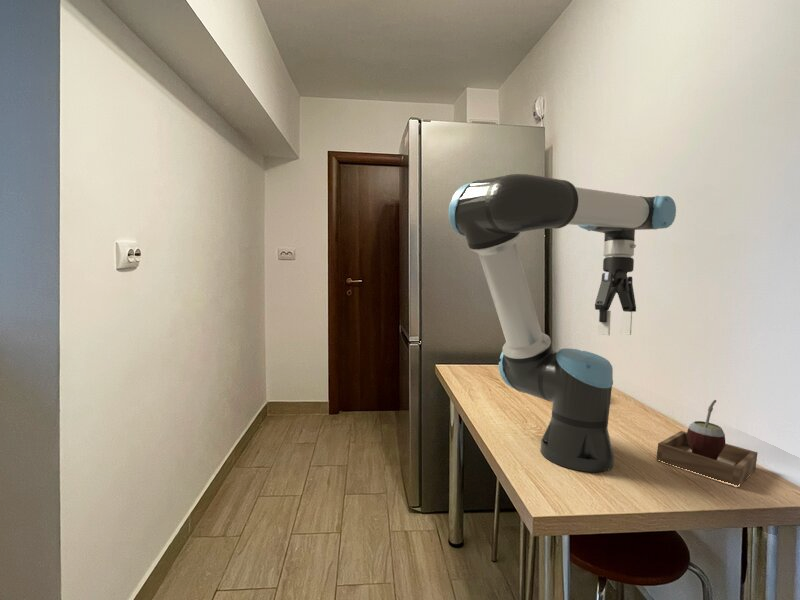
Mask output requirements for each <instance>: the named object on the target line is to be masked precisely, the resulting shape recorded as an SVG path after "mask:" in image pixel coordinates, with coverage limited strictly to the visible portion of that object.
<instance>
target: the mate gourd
mask: <svg viewBox="0 0 800 600" xmlns="http://www.w3.org/2000/svg"><path fill="white" fill-rule="evenodd" d="M716 403H717V400H716V399H714V400H713V401H712V402H711V403H710V404H709V406H708V409H707V415H706V419H705V421H701V420H695V421H693V422H692V423H690V424H689V425H688V428H687V431H686V432H687V440H688V444H689V447H690V448H691V450H692V452H691V453H695V454H698V455H701V456H704V457H708V458H711V459H714V460H717V458H718V456H719V454H720V453H721V452H722V450H723V448H724V446H725V443H726V434H725V431H724V429H723V428H722V427H721V426H719V425H717V424H715V423H712V422H709V421H710V418H711V415H712V412H713V410H714V408H713V407H714V406H715V404H716Z"/></svg>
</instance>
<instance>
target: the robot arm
mask: <svg viewBox="0 0 800 600" xmlns="http://www.w3.org/2000/svg"><path fill="white" fill-rule="evenodd" d="M448 205H449V206H448V220H449V223H450V226H451V228H452V229H453V231H455V232H456V233H458V234H459V235H461V236H463V237H465V240H466V242H467V246H468V247H469V250H470V251H472V252H473V253H476V254H477V255H478V256H479V257H478V258H479V261H480V264H481V266H482V267H481V268H482V270H483V273H484V276H485V279H486V283H487V285H488V289H489V291H490V295H491V298H492V301H493V305H494V307H495V310H496V314H497V317H498V319H499V322H500V323H499V324H500V326H501V329H502V333H503V336H504V340H505V343H504V344H503V345H502V351H501V354H500V357H499V359H500V361H499V362H498V371H499V374H500V376H501V378H502V380H503V382H504V383H505V384H506V385H507V386H508V387H510V388H512V389H514V390H516V391H518V392H520V393H523V394H527V395H530V396H533V397H536V398H538V399H540V400H541V399H542V400H545V401H547V402H549V403H550V402H551V403H552V407H551V417H550V421H549V423H548V425H547V428H546V430H545V431H544V434H543V436H542V438H541V442H540V453H541V455H542V456H543V457H544V458H545V459H547V460H548V461H550V462H552V463H554V464H556V465H559V466H561V467H564V468H568V469H571V470H575V471H580V470H581V472H589V473H590V472H591V473H594V472H595V473H598V472H597V471H601V472H605V471H604V470H606V471H609V470H611V469H612V468H613V467H614V459H615V458H614V457H615V454H614V450H613V447H612V446H613V445H612V442H611V438H610V433H609V429H608V428H609V427H608V426H609V417H610V407H611V399H612V391H613V390H612V389H613V386H614V379H613V378H614V377H613V376H614V374H613V373H614V372H613V371H614V369H613V365H612V363H611V362H610V361H609V360H608V359H607V358H605V357H603V356H601V355H599V354H596V353H593V352H592V351H591V352H590V351H587V350H580V349H577V348H561V349H559V350H558V351H555V350H554V347H553V344H552V340H551V337H550V336H549V335H548V334H546V333H544V332H542V328H541V326H540V322H539V319H538V316H537V311H536V308H535V305H534V302H533V297H532V295H531V290H530V287H529V283H528V280H527V277H526V274H525V270H524V265H523V263H522V259H521V256H520V253H519V248H518V245H517V240H518V238H520V235H521V233H523V232H529V231H536V230H544V229H545V230H546V229H563V228H565V227H567V226H568V225H573V226H575V225H576V226H578V227H579V228H580V229H583V230H587V231H589V232H590V231H591V232H597V233H602V234H604V238H603V239H604V242H603V256H604V258H603V261H602V262H603V263H602V270H603V273H601V279H600V280H601V282H600V285H599V288H598V292H597V296H596V298H595V303H594V309H595V311H596V310H597V311H598V329H597V335H599V336H610V334H611V332H610V331H611V316H612V315H611V313H612V312H611V310H610V308H611V305H612V303H613V301H614V298H615V296H616V294H617V296H618V299H619V302H620V305H621V309H622V310H621V311H620V330H619V333H620V335H627V336H628V335H629V336H630V335H632V327H633V324H632V323H633V313H634V312H637V304H636V298H635V292H634V286H633V285H634V284H633V276H628V273H632V272H634V266H635V265H634V264H635V262H634V261H635V259H634V258H633V257H634V256H635V248H636V247H637V245H636V244H635V242H636V241H635V238H636V237H635V236H636V235H635V234H636V231H639V230H641V231H642V230H659V229H660V230H661V229H667V228H669V227H671V226H672V225H673V223H674V222H675V219H676V215H677V206H676V202H675V200H674V199H673V198H672V197H671V196H668V195H661V196H659V195H655V196H643V195H640V196H639V195H634V194H633V195H632V194H625V193H619V192H611V191H606V190H598V189H591V188H582V187H577V186H575V185H574V184H573V183H572V182H571V181H568V180H566V179H565V180H564V179H559V178H553V177H546V176H542V175H535V174H527V173H510V174H506V175H502V176H497V177H491V178H485V179H477V180H474V181H471V182H468V183H466V184H464V185H461V186H459V187H458V189H456V191H455V192H454V194H453V195H452V197H451V200H450V202H449V204H448ZM612 466H613V467H612ZM611 467H612V468H611ZM610 468H611V469H610ZM608 469H609V470H608Z"/></svg>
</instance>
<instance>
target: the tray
mask: <svg viewBox="0 0 800 600" xmlns="http://www.w3.org/2000/svg"><path fill="white" fill-rule="evenodd" d="M656 451H657V452H656V457H655V460H656V459H657V460H660V461H663V462H665V463H668V464H671V465H674V466H677V467H680V468H683V469H687V470H690V471H693V472H696V473H699V474H702V475H705V476H708V477H711V478H714V479H717V480H721V481H724V482H728V483H731V484H734V485H737V486H738V485H739V484H741V483H742V482H743V481H744V480H745V479H746V478H747V477H748V476H749V475H750V474H751V475H753V473H754V472H755V471H756V470H757V469H756V468H757V460H758V452H757V451H754V450H750V449H747V448H743V447H740V446H736V445H733V444H729V443H726V442H725V446H724V448H723V450H722V452H721V453H720V454H719V456H718V458H717V460H714V459H711V458H708V457H704V456H701V455H698V454H695V453H691V452H692V450H691V448H690V447H689V444H688V440H687V431H684V430H679V432H676V433H675V434H673V435H671V436H669V437H668V438H666V439H663V441H661V442H659V443H657V449H656ZM751 475H750V476H751ZM750 476H749V477H750ZM749 477H748V478H749ZM748 478H747V479H748ZM747 479H746V480H747ZM746 480H745V481H746ZM745 481H744V482H745ZM744 482H743V483H744ZM743 483H742V484H743Z"/></svg>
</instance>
